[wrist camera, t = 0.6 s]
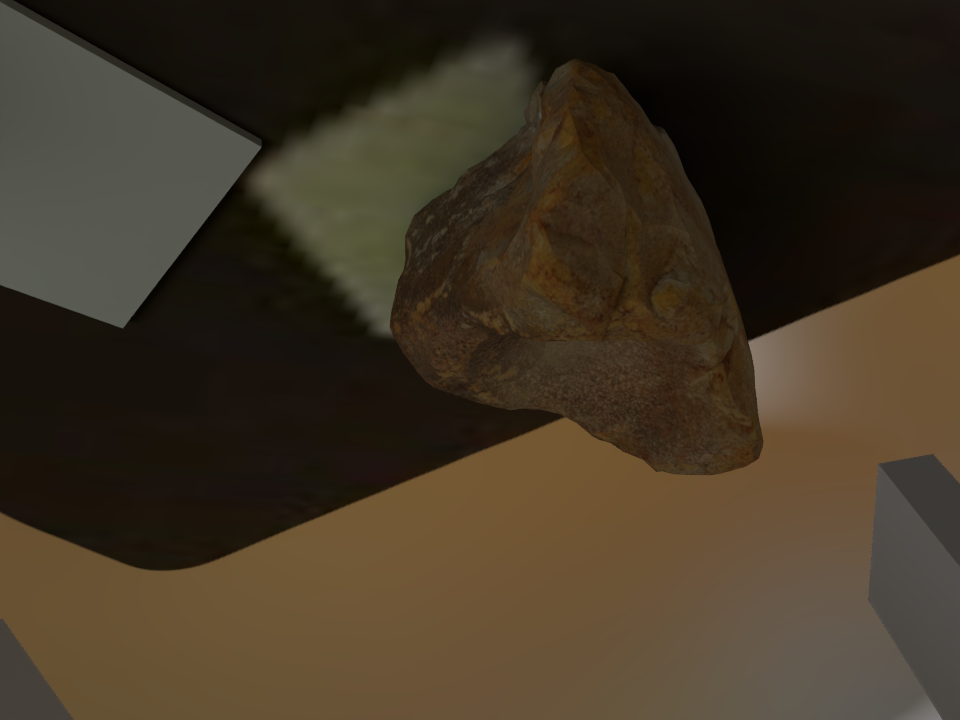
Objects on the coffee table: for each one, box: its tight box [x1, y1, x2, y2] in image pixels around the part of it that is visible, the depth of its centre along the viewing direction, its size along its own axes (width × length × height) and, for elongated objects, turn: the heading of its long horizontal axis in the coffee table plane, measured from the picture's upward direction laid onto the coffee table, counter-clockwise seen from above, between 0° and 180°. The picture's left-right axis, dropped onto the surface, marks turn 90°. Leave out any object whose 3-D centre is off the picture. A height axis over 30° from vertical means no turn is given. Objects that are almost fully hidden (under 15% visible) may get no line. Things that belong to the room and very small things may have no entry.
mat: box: [0, 0, 262, 328], centre depth 35 cm, size 14×14×1 cm
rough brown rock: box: [390, 59, 763, 475], centre depth 39 cm, size 23×17×15 cm
